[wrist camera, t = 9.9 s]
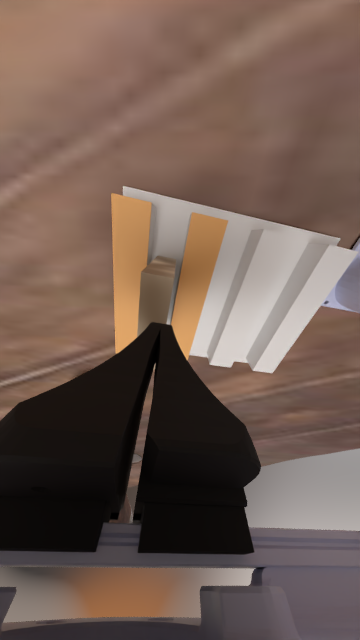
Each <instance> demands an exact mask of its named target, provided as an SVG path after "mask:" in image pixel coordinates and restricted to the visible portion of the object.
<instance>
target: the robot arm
mask: <svg viewBox="0 0 360 640" xmlns="http://www.w3.org/2000/svg"><path fill="white" fill-rule="evenodd" d="M352 250H354V251H358V254H357V255H356V256H355V258H354V259H353V261H352V262H351V264H350V265H349V266H348V268H347V269H346V271H345V272H344V273H343V275H342V276H341V278H340V279H339V280H338V282H337V283H336V285H335V286H334V287H333V289H332V290H331V292H330V293H329V294H328V296H327V297H326V299H325V300H324V301H323V303H322V304H321V306H326V307H331V308H337V309H342V310H347V311H352V312H358V313H360V238H359V239H358V241H357V242H356V244H355V245H354V247H353V248H352ZM325 301H326V302H325ZM324 302H325V303H324ZM154 366H155V375H154V388H153V399H152V405H151V411H150V417H149V423H148V429H147V435H146V441H145V447H144V454H143V460H142V466H141V472H140V478H139V484H138V491H137V497H136V503H135V510H134V516H133V522H132V523H109V520H118V517H119V513H120V511H121V510H122V508H123V507H124V502H125V497H126V491H127V486H128V481H129V476H130V471H131V466H132V461H133V455H134V450H135V445H136V440H137V435H138V430H139V425H140V420H141V415H142V410H143V405H144V401H145V397H146V393H147V389H148V386H149V383H150V379H151V376H152V372H153V369H154ZM260 469H261V464H260V461H259V459H258V456H257V453H256V450H255V447H254V445H253V442H252V440H251V437H250V435H249V433H248V431H247V428H246V426H245V425H244V424H243V423H242V422H241V421H240V420H239V419H238V418H237V417H236V416H235V415H234V414H232V413H231V412H230V411H229V410H228V409H227V408H226V407H225V406H224V405H223V404H222V403H221V402H220V401H219V400H218V399H217V398H216V397H215V396H214V395H213V394H212V393H211V391H210V390H209V389H208V388H207V387H206V385H205V384H204V383H203V382H202V381H201V379H200V378H199V377H198V376H197V374H196V373H195V371H194V370H193V369H192V367H191V366H190V364H189V362H188V361H187V359H186V357H185V356H184V354H183V352H182V350H181V348H180V346H179V344H178V342H177V339H176V337H175V334H174V331H173V327H172V325H169V324H162V323H156V322H151V323H150V324H149V325H148V327H147V328H146V329H145V330H144V331H143V332H142V333H141V334H140V335H139V336H138V337H137V338H136V339H135V340H134V341H132V342H131V343H130V344H129V345H128V346H126V347H125V348H124V349H123V350H121V351H120V352H119V353H117V354H116V355H114V356H113V357H112V358H110V359H108V360H107V361H105V362H104V363H102V364H100V365H99V366H97V367H95V368H94V369H92V370H90V371H88V372H86V373H85V374H83V375H81V376H79V377H77V378H75V379H73V380H71V381H69V382H67V383H64V384H62V385H60V386H58V387H56V388H53V389H51V390H49V391H46V392H44V393H42V394H39V395H37V396H35V397H32V398H30V399H28V400H25V401H23V402H20V403H19V404H17V405H16V406H15V407H14V408H13V409H12V410H11V411H10V412H9V413H8V414H7V415H6V416H5V417H4V418H3V419H2V420H1V421H0V567H132V568H134V567H136V568H139V567H143V568H145V567H146V568H256V569H254V571H253V573H252V580H251V584H250V585H249V586H202V587H201V589H200V603H201V618H177V617H176V618H174V617H102V618H77V619H60V620H43V621H26V622H10V623H3V620H4V618H5V616H6V614H7V611H8V609H9V607H10V605H11V603H12V601H13V598H14V596H15V594H16V587H0V640H360V531H343V530H312V529H283V528H281V529H280V528H254V527H253V528H251V527H248V522H247V518H246V514H245V509H244V507H246V506H247V500H246V496H245V492H244V488H243V487H245V486H246V485H247V484H248V483H250V482H251V481H252V480H253V479H255V478H256V476H257V475H258V474H259V472H260Z"/></svg>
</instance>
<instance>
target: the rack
mask: <svg viewBox="0 0 360 640" xmlns="http://www.w3.org/2000/svg"><path fill="white" fill-rule="evenodd" d="M111 200H112V237H113V274H114V310H115V347H116V353H119V352H120V351H121V350H123V349H124V348H125V347H126V346H128V345H129V344H130V343H131V342H132V341H134V340H135V339H136V338H137V330H138V314H139V298H140V281H141V272H142V271H143V270H144V269H145V268H146V267H147V266H148V265H149V264H150V263H151V262H152V261H153V260H154V259H155V258H156V257H157V256H162V257H167V258H172V259H176V267H175V276H174V283H173V288H172V294H171V300H170V306H169V312H168V318H167V324H169V325H172V327H173V331H174V334H175V337H176V339H177V342H178V344H179V346H180V348H181V350H182V352H183V354H184V356H185V357H186V359H187V360H188V357H189V355H195V356H202V357H208V359H209V363H210V365H216V366H224V367H231V366H232V364H233V362H234V361H237V362H244V363H249V365H250V367H251V368H252V370H253V371H260V372H268V373H273V372H274V370H275V369H276V367H277V366H278V365H279V363H280V362H281V360H282V359H283V358H284V356H285V355H286V353H287V352H288V351H289V349H290V348H291V346H292V345H293V344H294V342H295V341H296V339H297V338H298V337H299V335H300V334H301V332H302V331H303V329H304V328H305V327H306V325H307V324H308V322H309V321H310V320H311V318H312V317H313V315H314V314H315V313H316V311H317V310H318V308H319V307H320V306H321V304H322V303H323V301H324V300H325V299H326V297H327V296H328V294H329V293H330V292H331V290H332V289H333V287H334V286H335V285H336V283H337V282H338V280H339V279H340V278H341V276H342V275H343V273H344V272H345V271H346V269H347V268H348V266H349V265H350V264H351V262H352V261H353V259H354V258H355V256H356V255H357V254H358V251H354V250H349V249H345V248H341V247H337V246H336V245H337V244H338V242H339V241H340V238H336V237H332V236H328V235H324V234H320V233H316V232H311V231H307V230H303V229H299V228H295V227H291V226H287V225H283V224H278V223H274V222H270V221H266V220H262V219H258V218H254V217H250V216H245V215H241V214H237V213H233V212H229V211H225V210H221V209H217V208H213V207H208V206H204V205H200V204H196V203H192V202H188V201H184V200H180V199H175V198H171V197H167V196H163V195H159V194H155V193H151V192H147V191H142V190H138V189H134V188H130V187H126V186H123V196H122V195H118V194H114V193H111Z"/></svg>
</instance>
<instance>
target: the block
mask: <svg viewBox="0 0 360 640" xmlns="http://www.w3.org/2000/svg"><path fill="white" fill-rule="evenodd" d="M175 267H176V259H172V258H167V257H162V256H157V257H156V258H155V259H154V260H153V261H152V262H151V263H150V264H149V265H148V266H147V267H146V268H145V269H144V270H143V271H142V272H141V281H140V298H139V314H138V330H137V337H138V336H139V335H140V334H141V333H142V332H143V331H144V330H145V329H146V328H147V327H148V325H149V324H150V323H151V322H156V323H162V324H167V318H168V312H169V306H170V300H171V294H172V288H173V283H174V276H175ZM154 369H155V366H154Z"/></svg>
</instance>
